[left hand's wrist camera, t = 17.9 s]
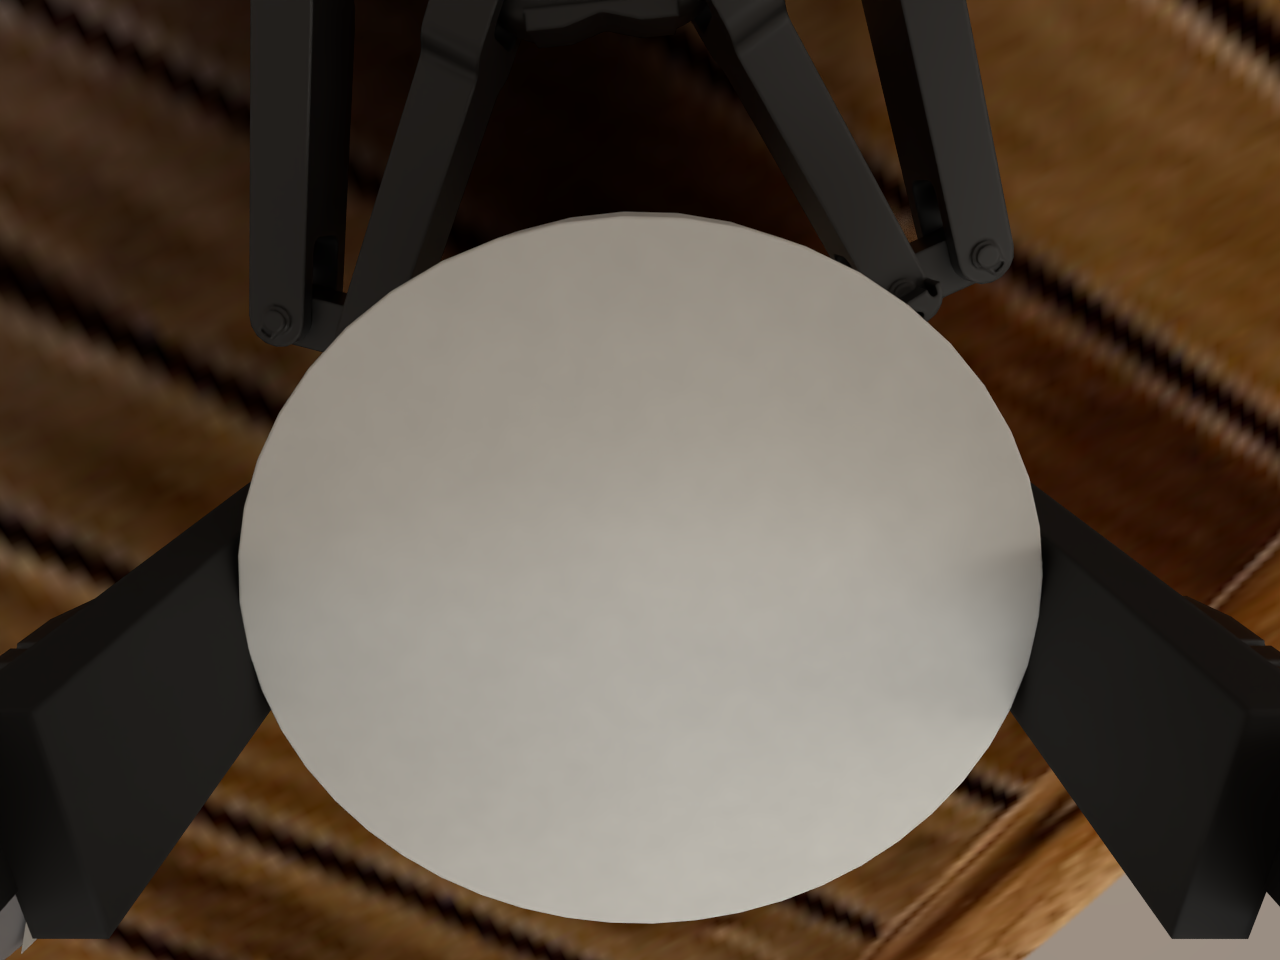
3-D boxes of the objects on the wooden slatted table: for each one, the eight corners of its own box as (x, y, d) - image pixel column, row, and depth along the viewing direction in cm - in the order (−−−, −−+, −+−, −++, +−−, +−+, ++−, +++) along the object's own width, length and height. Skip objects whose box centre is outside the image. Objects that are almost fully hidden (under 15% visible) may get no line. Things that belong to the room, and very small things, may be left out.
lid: (949, 829, 14) (991, 915, 12) (356, 847, 14) (320, 933, 12) (1035, 194, 10) (1111, 194, 8) (220, 228, 10) (139, 235, 8)
